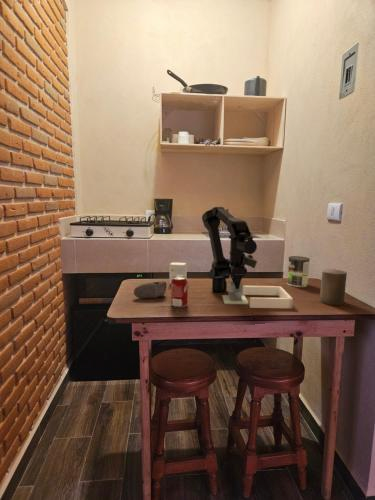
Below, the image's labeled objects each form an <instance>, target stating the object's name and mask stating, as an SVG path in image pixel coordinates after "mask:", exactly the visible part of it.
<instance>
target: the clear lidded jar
mask: <svg viewBox="0 0 375 500" xmlns="http://www.w3.org/2000/svg"><path fill="white" fill-rule="evenodd" d="M310 260H311V258H309V257H307V256H299V255H293V256H288V264H287V265H288V266H287V278H286V284H287V285H288V286H291V287H294V288H295V287H296V288H306V287H308V283H309V282H308V281H309V270H310Z"/></svg>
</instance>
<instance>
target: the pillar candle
mask: <svg viewBox="0 0 375 500" xmlns="http://www.w3.org/2000/svg"><path fill="white" fill-rule="evenodd" d="M347 273H348V272H347V271H345V270H342V269H336V268H334V269H331V268H325V269H322V270H321V279H320V280H321V281H320V293H319V302H321V303H322V304H326V305H329V306H343V305H344V304H345V296H346V287H347V286H346V285H347V282H346V281H347V276H348V275H347Z"/></svg>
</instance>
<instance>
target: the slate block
mask: <svg viewBox="0 0 375 500" xmlns="http://www.w3.org/2000/svg"><path fill="white" fill-rule="evenodd" d="M228 295H229V300H230V301H242V296H243V284H242V281H241V282H240V286H239V289H236V288H235V285H234V282H233V281H228Z"/></svg>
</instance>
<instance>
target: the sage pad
mask: <svg viewBox="0 0 375 500" xmlns="http://www.w3.org/2000/svg"><path fill="white" fill-rule="evenodd" d="M222 300H223V303H224V305H249V300H248V299H247V297H246V295H242V301H230V300H229V294H228V295H227V294H226V295H225V294H224V295H223V294H222Z"/></svg>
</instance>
